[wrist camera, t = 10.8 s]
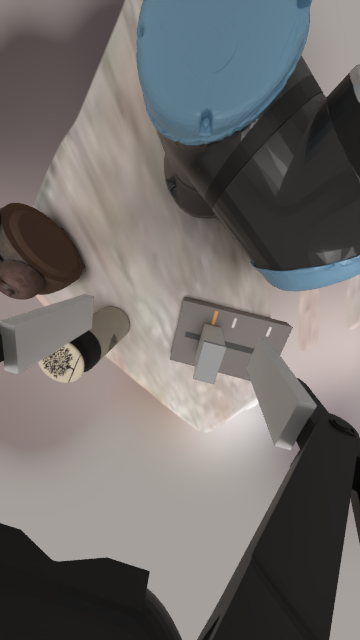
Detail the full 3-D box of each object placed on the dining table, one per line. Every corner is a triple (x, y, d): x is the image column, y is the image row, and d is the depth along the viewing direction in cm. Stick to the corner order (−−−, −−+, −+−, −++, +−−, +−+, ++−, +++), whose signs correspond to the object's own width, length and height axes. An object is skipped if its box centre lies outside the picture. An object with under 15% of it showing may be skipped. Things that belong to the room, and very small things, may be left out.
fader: (195, 353, 41) (193, 378, 33) (204, 323, 39) (204, 341, 30) (212, 357, 41) (213, 384, 32) (221, 327, 38) (226, 347, 30)
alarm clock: (35, 229, 41) (-112, 205, 22) (61, 212, 39) (-76, 170, 20) (73, 291, 44) (-26, 317, 25) (98, 278, 42) (11, 296, 23)
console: (171, 353, 46) (169, 359, 43) (184, 297, 41) (183, 300, 38) (262, 376, 45) (266, 385, 42) (286, 322, 40) (293, 327, 37)
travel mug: (92, 324, 46) (26, 363, 29) (108, 299, 43) (46, 326, 27) (119, 344, 47) (70, 393, 30) (136, 320, 44) (93, 360, 27)
